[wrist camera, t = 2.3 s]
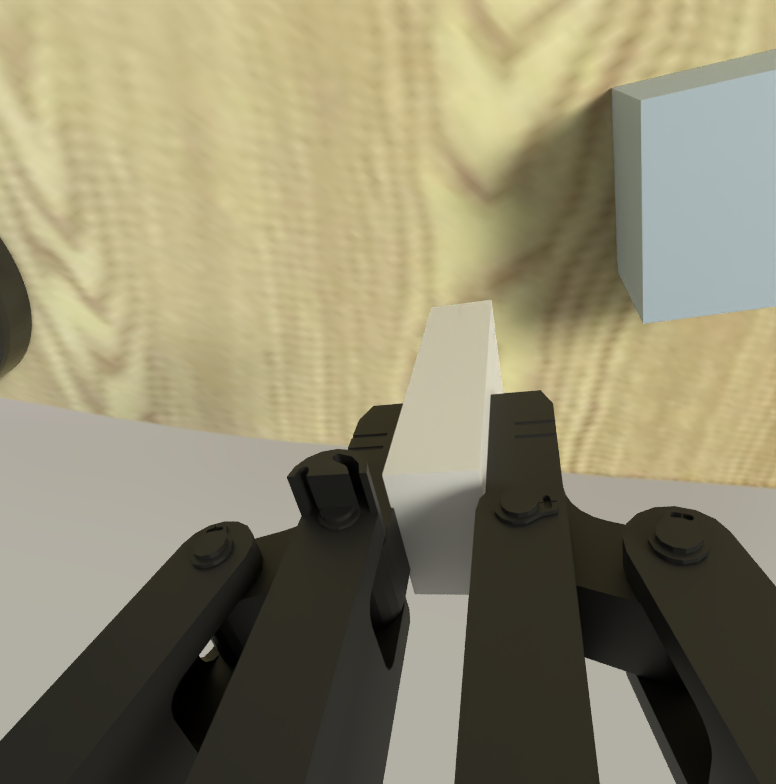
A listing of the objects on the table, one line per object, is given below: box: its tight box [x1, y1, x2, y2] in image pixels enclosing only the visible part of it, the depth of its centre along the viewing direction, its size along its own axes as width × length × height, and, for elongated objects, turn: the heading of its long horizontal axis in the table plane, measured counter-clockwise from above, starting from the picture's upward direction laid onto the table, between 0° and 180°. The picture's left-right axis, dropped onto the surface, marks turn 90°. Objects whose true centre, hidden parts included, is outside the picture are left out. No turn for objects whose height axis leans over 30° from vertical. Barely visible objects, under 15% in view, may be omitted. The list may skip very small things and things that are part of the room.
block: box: [612, 49, 776, 324], centre depth 22 cm, size 6×8×6 cm
